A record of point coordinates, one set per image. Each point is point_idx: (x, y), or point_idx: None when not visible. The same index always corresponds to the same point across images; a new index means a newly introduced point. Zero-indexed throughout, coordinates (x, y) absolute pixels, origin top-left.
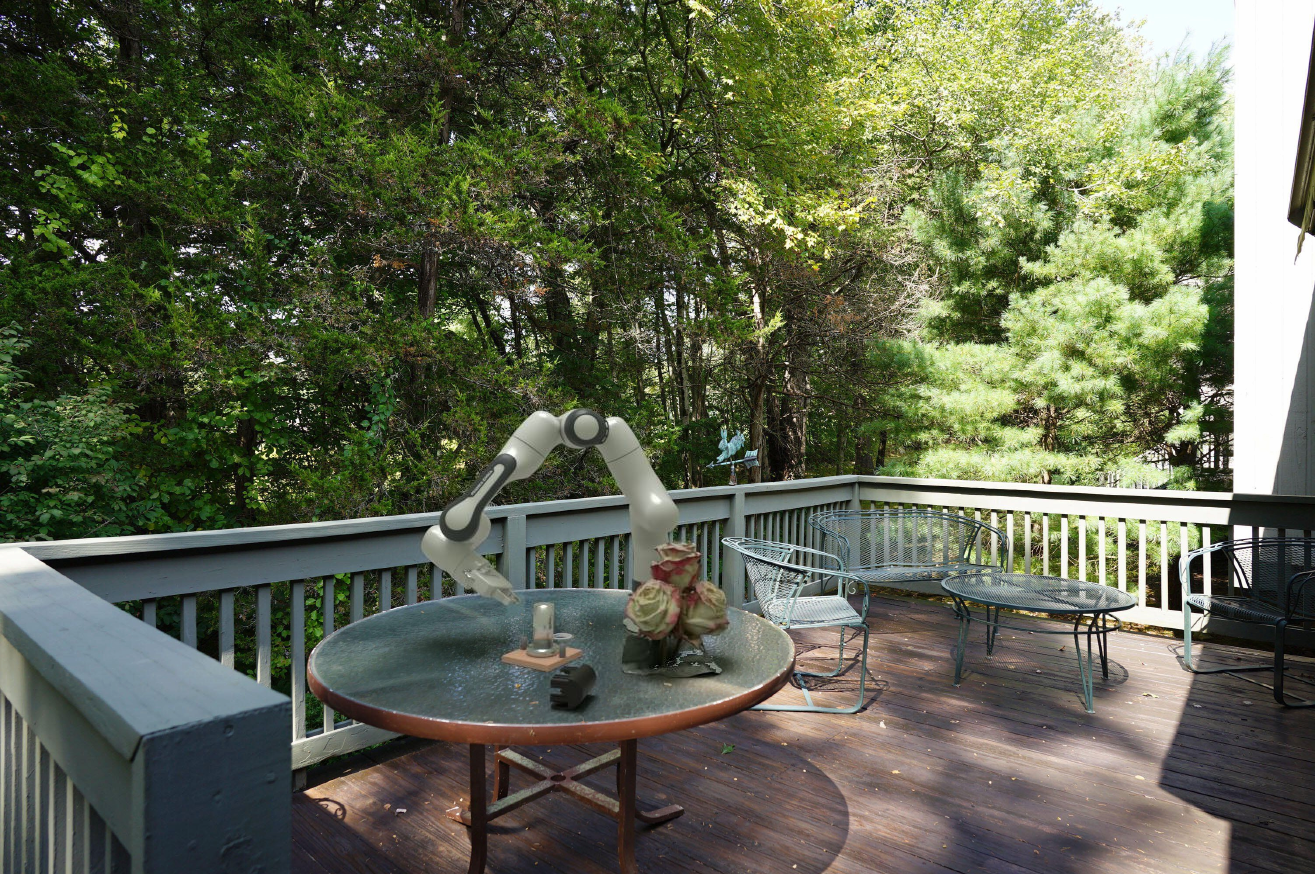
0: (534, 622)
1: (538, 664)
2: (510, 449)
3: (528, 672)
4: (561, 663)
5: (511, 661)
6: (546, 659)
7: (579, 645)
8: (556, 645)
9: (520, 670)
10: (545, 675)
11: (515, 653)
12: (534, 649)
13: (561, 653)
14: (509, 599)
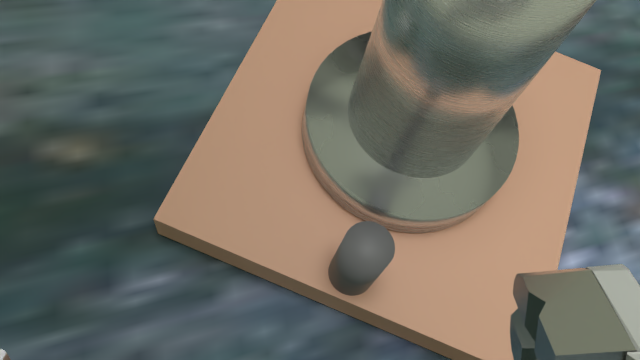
0: (551, 54)
1: (587, 123)
2: None
3: (624, 177)
4: None
5: None
6: None
7: (100, 5)
8: (365, 46)
9: (612, 226)
10: (629, 91)
11: (459, 302)
12: (485, 153)
13: None
14: (624, 272)
